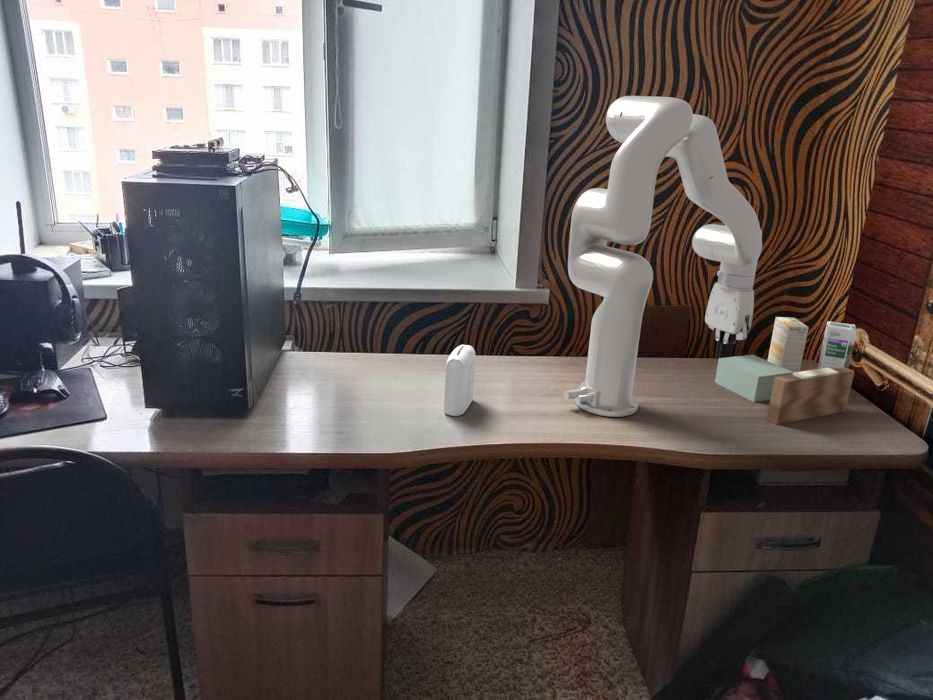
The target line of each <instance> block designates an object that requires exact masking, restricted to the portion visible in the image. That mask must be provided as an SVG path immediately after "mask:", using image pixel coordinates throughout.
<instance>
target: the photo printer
mask: <svg viewBox="0 0 933 700" xmlns="http://www.w3.org/2000/svg"><path fill="white" fill-rule="evenodd" d="M476 356H477V355H476V350H475V349H474V347H473V346H472V345H469V344H460V345H458V346H457V347H456V348H454V349H453V351H452V352H451V353H450V355H449V356H448V358H447V360H446V363H445V364H446V365H445V376H444V377H445V379H444V380H445V381H444V382H445V383H444V396H443V397H444V399H443V401H444V402H443V411H444V413H445V415H448V416H452V417H459V416H462V415H463V414H464V413H465V412H466V411H467V409H468V408H469V407H470V405H471V403H473V399H474V389H475V388H474V387H475V373H476V372H475V369H476Z"/></svg>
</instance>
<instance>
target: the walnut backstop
mask: <svg viewBox="0 0 933 700" xmlns="http://www.w3.org/2000/svg"><path fill="white" fill-rule="evenodd" d="M854 376H855V370H853V369H851V368H846V367H841V368H834V369H830V368H821V369H817V368H816V369H809V370H804V371H802V370H800V372H795V373H793V375H788V376H781V377H775V379H774V384H773V389H772V394H771V399H770V400H769V405H768V410H767V413H766V414H767V415H766V421H768V422H771V423H773V424H775V425H781V424H787V423H791V422H796V421H802V420H806V419H807V420H808V419H813V418H818V417H821V416H829V415H834V414H838V413H844V412H846V410H847V407H848V402H849V397H850V392H851V388H852V385H853V380H854Z"/></svg>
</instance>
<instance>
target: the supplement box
mask: <svg viewBox="0 0 933 700" xmlns="http://www.w3.org/2000/svg"><path fill="white" fill-rule="evenodd" d="M809 328H810V327H809V326H807V325H806V324H805V323H803V322H801V321H800V320H799V319H797V318H796V317H788V316H787V317H783V316H775V319H774V325H773V330H772V335H771V339H770V347H769V351H768V357H767V361H769V362H771V363H773V364H776V365H778V366H780V367H783V368H785V369H787V370H790V371H792V372H794V373H795V372H801V367H802V361H803V357H804V353H805V347H806V344H807V337H808V331H809Z"/></svg>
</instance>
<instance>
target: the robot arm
mask: <svg viewBox="0 0 933 700" xmlns="http://www.w3.org/2000/svg"><path fill="white" fill-rule="evenodd" d="M605 124H606V128H607V131H608V132H609V134H610V136H611V137H612V138H613V139H614V140H615V141H617V142H619V143H621V144H622V145H621V146H620V147H619V148H618V150H617V151H616V153H615V154H614V157H613V159H612V161H611V166H610V169H609V175H608V183H607V188H601V187H596V188H595V187H593V188H589V189H588V190H586V191H585V192H583V193H582V194H581V195H580V196H579V198H578V199H577V200H576V202H575V204H574V207H573V209H572V213H571V221H570V229H569V245H568V255H567V256H568V257H567V270H568V271H567V273H568V277H569V280H570V281H571V283H572V284H573V285H574V286H576V288H579V289H581V290H582V291H587V292H590V293H593V294H596V295H599V296H600V297H603V299H602V302H601V303H600V305H598V306H597V308H596V310H595V312H594V313H593V315H592V319H591V322H590V323H591V324H590V325H591V326H590V333H589V342H588V343H589V345H588V352H587V362H586V371H585V379H584V381H582V382H579V383H580V385H579V386H578V387H577V388H576V389H567V390H564V391H563V395H562V396H563V398H564V400H565V401H569V400H575V402H574V403H575V404H576V405H577V406H578V407H579V408H580V409H582V410H583V411H586V412H588V413H590V414H594V415H597V416H602V417H603V416H604V417H610V418H611V417H613V418H615V417H617V418H622V417H628V416H631V415H633V414H635V413H637V411H638V409H639V401H638V400H637V399H636V398H635V397H633V388H634V387H633V386H634V379H635V373H636V365H637V358H638V351H639V342H640V335H641V328H642V321H643V315H644V310H645V306H646V303H647V299H648V296H649V293H650V291H651V288H652V284H653V280H654V271H653V268H652V265H651V264H650V262H649V261H648V260H647V259H646V258H644V257H643V256H642V255H639V254H638V253H635V252H633V251H628V250H624V249H620V248H616V247H615V248H614V247H611V246H607V243H608V242H612V243H615V244H619V245H624V246H625V245H627V246H633V245H634V246H636V245H638V244H642V243H643V242H644V241H645V240H646V239H647V236H648V235H649V232H650V230H651V229H650V228H651V224H652V216H653V209H654V208H653V206H654V199H655V192H656V190H655V188H656V183H657V182H656V181H657V176H658V172H659V169H660V166H661V164H662V162H663V160H664V159H665V158H666V157H667V158H674V159H675V160H676V163H677V167H678V171H679V173H680V177H681V181H682V185H683V190H684V194H685V195H686V197H687V198H688V199H689V200H690V201H691V202H693V203H694V204H696V205H697V206H698V207H699V208H701V209H703V210H704V211H706V212H708V213H710V214H712V215H713V216H715V217H716V218H717V219H719V220H720V221H721V222H722V223H723V224H724V225H723V224H716V223H710V224H709V223H708V224H705V225H702V226H701V227H700V228H698V229H697V230H696V231H695V232H694V234H693V236H692V240H691V244H692V249H693V252H695V254H697V256H699V257H702V258H703V259H706V260H709V261H710V260H711V261H715V262H719V263H720V265H719V270H718V271H717V273H716V276H717V277H718V278H717V282H715V283H714V284H713V287H712V289H711V291H710V296H709V298H708V301H707V302H708V303H707V305H706V311H705V316H704V322H705V324H707V327H708V328H709V329H711V330H712V331H713V332H714V335H715V341H716V348H715V354H714V358H715V359H718V360H719V358H726V357H732V356H731V354H732V350H733V344H736V342H737V341H738V340H739V341H745V340H747V337H748V336H747V334H748V333H749V332H750V330H751V327H752V323H753V317H754V316H753V315H754V307H755V305H754V304H755V289H754V283H755V277H756V270H757V266H758V260H759V257H761V256H760V255H761V253H762V249H763V232H762V231H763V230H762V229H761V226H760V221H759V219H758V215H757V213H756V211H755V209H754V207H752V205H751V203H750V202H749V201H748V200H747V199H746V198H745V197H744V195H742V193H741V192H740V190H738V188H736V187H735V186H734V184H732V183H731V182H730V180H729V177H728V174H727V169H726V163H725V161H724V156H723V151H722V148H721V144H720V139H719V136H718V131H717V127H716V124H715V123H714V121H713V120H712V119H710V117H708V116H706V115H705V116H704V115H701V114H694V112H693V109H692V106H691V105H690V103H688V102H687V101H686V100H684V99H681V98H678V97H677V98H676V97H671V96H651V95H650V96H649V95H648V96H645V95H643V96H642V95H624V96H620V97H619V98H617V99H615V101H613V102H612V103H611V104H610V105H609V107H608V109H607V111H606V117H605Z"/></svg>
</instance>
